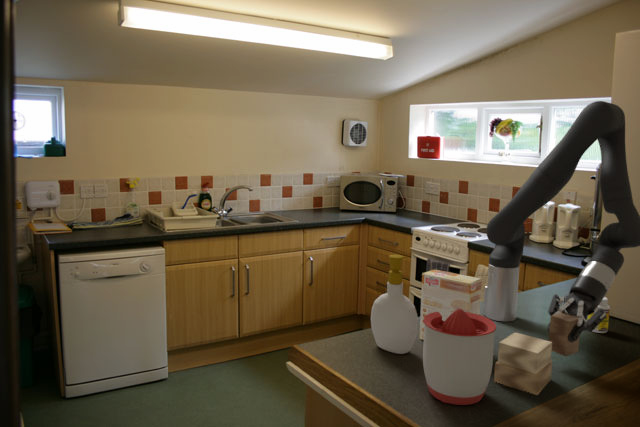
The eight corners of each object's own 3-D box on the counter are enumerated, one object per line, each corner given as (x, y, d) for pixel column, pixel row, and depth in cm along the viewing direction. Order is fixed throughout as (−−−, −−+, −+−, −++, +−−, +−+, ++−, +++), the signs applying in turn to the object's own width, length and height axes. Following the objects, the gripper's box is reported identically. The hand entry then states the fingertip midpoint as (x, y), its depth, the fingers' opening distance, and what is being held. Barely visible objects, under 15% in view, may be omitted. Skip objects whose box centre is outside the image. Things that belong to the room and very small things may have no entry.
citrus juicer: (476, 374, 130) (480, 295, 127) (502, 411, 113) (508, 321, 110) (412, 374, 130) (415, 295, 127) (429, 411, 113) (433, 321, 110)
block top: (497, 362, 126) (499, 342, 125) (513, 351, 133) (514, 332, 132) (536, 374, 120) (537, 353, 119) (550, 362, 127) (552, 342, 126)
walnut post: (547, 349, 135) (550, 315, 134) (559, 345, 138) (563, 311, 137) (565, 356, 131) (569, 321, 130) (577, 352, 134) (581, 318, 132)
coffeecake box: (479, 346, 147) (483, 278, 144) (466, 354, 142) (470, 283, 139) (431, 332, 158) (434, 268, 155) (418, 339, 152) (421, 272, 149)
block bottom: (493, 383, 127) (495, 363, 126) (509, 368, 134) (510, 350, 134) (537, 396, 120) (538, 375, 120) (550, 380, 128) (552, 361, 127)
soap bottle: (425, 351, 144) (429, 257, 140) (406, 361, 137) (410, 262, 133) (382, 337, 153) (385, 248, 149) (362, 346, 147) (365, 253, 143)
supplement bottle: (601, 335, 157) (604, 301, 156) (583, 329, 162) (586, 296, 160) (611, 331, 160) (614, 298, 159) (593, 325, 165) (596, 293, 163)
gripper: (562, 267, 141) (529, 319, 137) (616, 281, 129) (581, 338, 125) (572, 284, 145) (540, 334, 141) (625, 299, 133) (592, 355, 129)
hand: (559, 336), depth 133 cm, fingers closed on walnut post, 5 cm apart
